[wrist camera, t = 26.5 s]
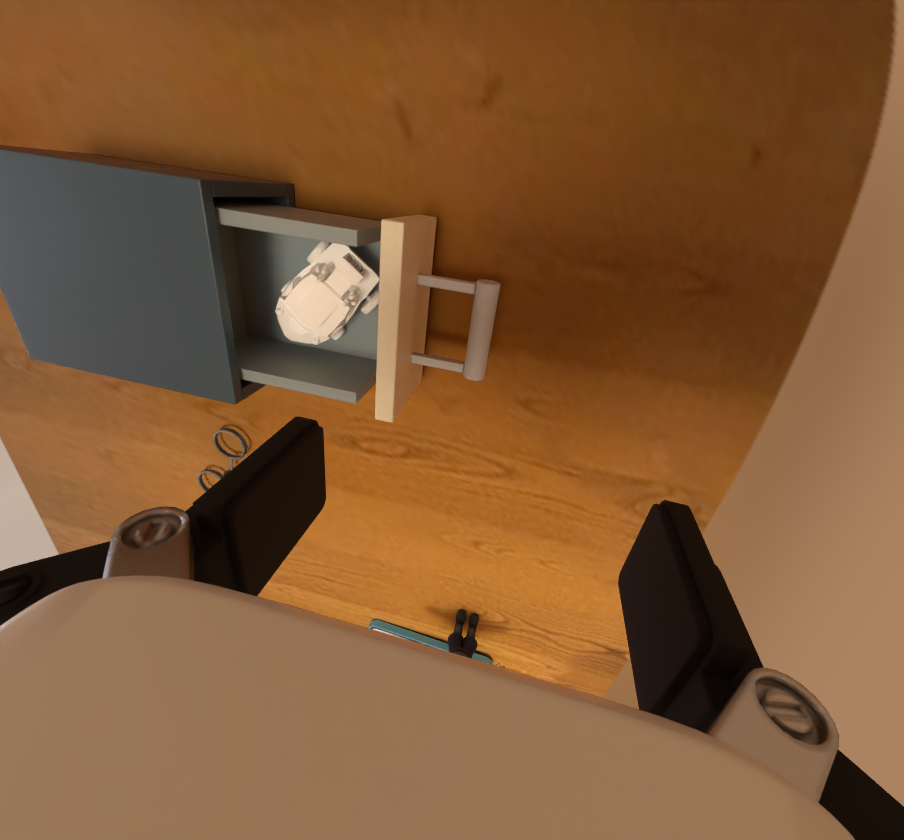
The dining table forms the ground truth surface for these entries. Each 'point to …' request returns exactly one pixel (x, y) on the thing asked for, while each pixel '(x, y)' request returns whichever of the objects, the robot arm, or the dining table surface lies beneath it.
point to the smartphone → (417, 638)
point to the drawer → (366, 335)
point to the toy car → (326, 294)
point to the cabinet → (123, 267)
